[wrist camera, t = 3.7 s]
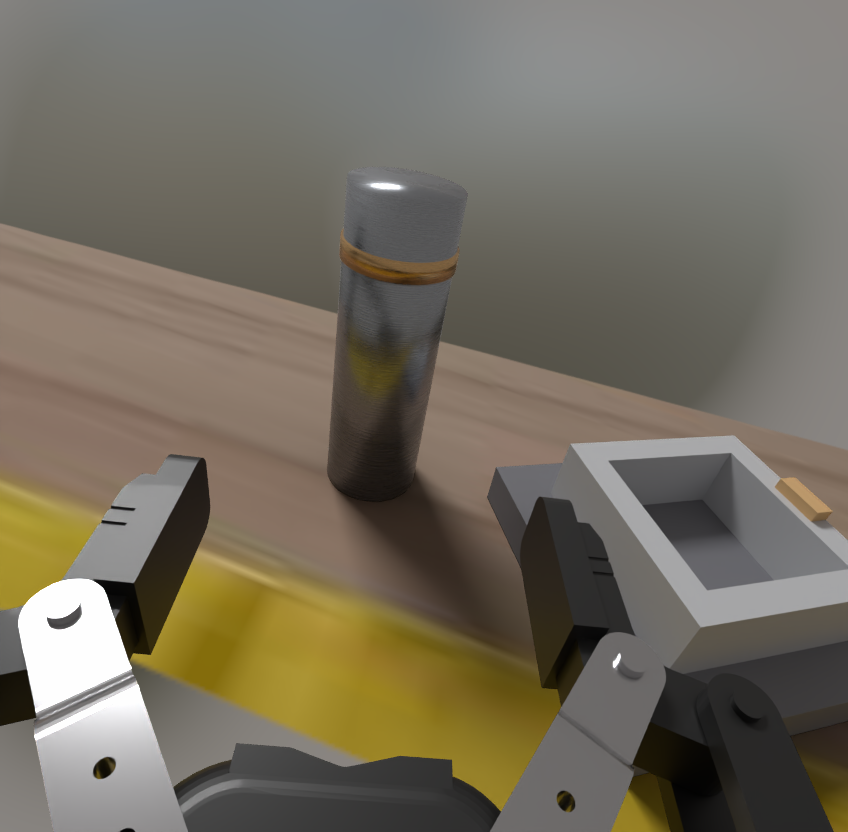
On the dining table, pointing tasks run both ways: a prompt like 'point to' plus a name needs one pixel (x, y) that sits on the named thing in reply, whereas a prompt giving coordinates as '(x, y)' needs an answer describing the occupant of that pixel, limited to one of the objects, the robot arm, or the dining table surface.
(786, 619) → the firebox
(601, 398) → the dining table surface
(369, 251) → the metal canister
